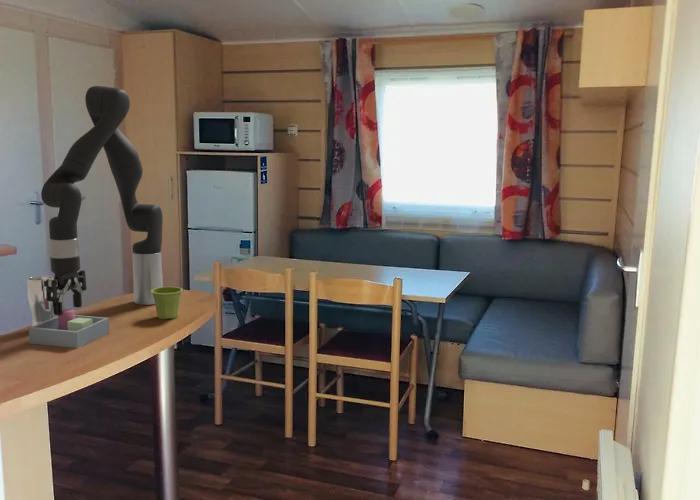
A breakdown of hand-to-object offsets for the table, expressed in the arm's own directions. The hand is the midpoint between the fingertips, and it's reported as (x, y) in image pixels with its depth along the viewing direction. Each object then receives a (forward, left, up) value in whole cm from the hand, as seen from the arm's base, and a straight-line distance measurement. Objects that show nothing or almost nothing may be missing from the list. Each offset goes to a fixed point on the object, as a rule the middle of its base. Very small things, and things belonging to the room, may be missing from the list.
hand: (68, 310), depth 182 cm
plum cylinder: (+1, 0, -6) cm, 6 cm away
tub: (+3, +3, -7) cm, 8 cm away
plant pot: (-24, +18, -7) cm, 30 cm away
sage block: (+4, +6, -6) cm, 9 cm away
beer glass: (-2, -10, -7) cm, 12 cm away
